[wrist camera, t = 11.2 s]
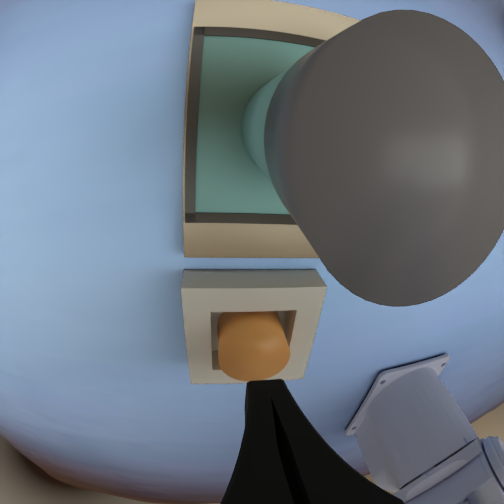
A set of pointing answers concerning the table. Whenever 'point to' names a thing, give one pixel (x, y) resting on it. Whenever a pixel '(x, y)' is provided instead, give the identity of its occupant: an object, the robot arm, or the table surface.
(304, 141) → the green grey cylinder
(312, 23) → the picture board
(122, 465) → the table surface
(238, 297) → the button housing
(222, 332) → the button
